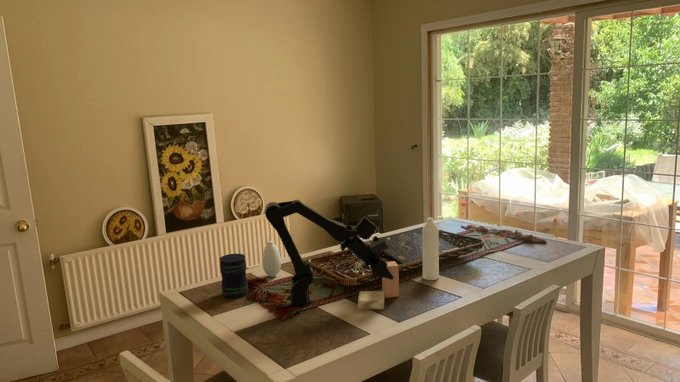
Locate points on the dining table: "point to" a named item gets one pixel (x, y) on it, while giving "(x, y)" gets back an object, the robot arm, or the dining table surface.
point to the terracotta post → (391, 281)
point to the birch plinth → (371, 300)
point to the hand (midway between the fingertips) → (389, 274)
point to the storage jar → (233, 276)
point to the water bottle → (430, 249)
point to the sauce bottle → (271, 259)
